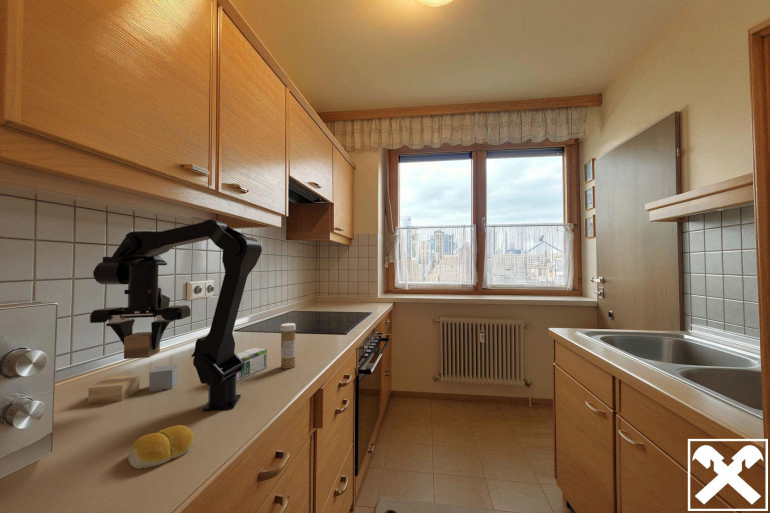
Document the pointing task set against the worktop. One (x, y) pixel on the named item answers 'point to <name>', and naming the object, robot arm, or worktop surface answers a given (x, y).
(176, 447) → the bread roll
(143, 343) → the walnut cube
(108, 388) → the oak base block
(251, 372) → the syrup box
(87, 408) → the worktop surface
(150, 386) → the slate-grey cube
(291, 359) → the sprinkles bottle
